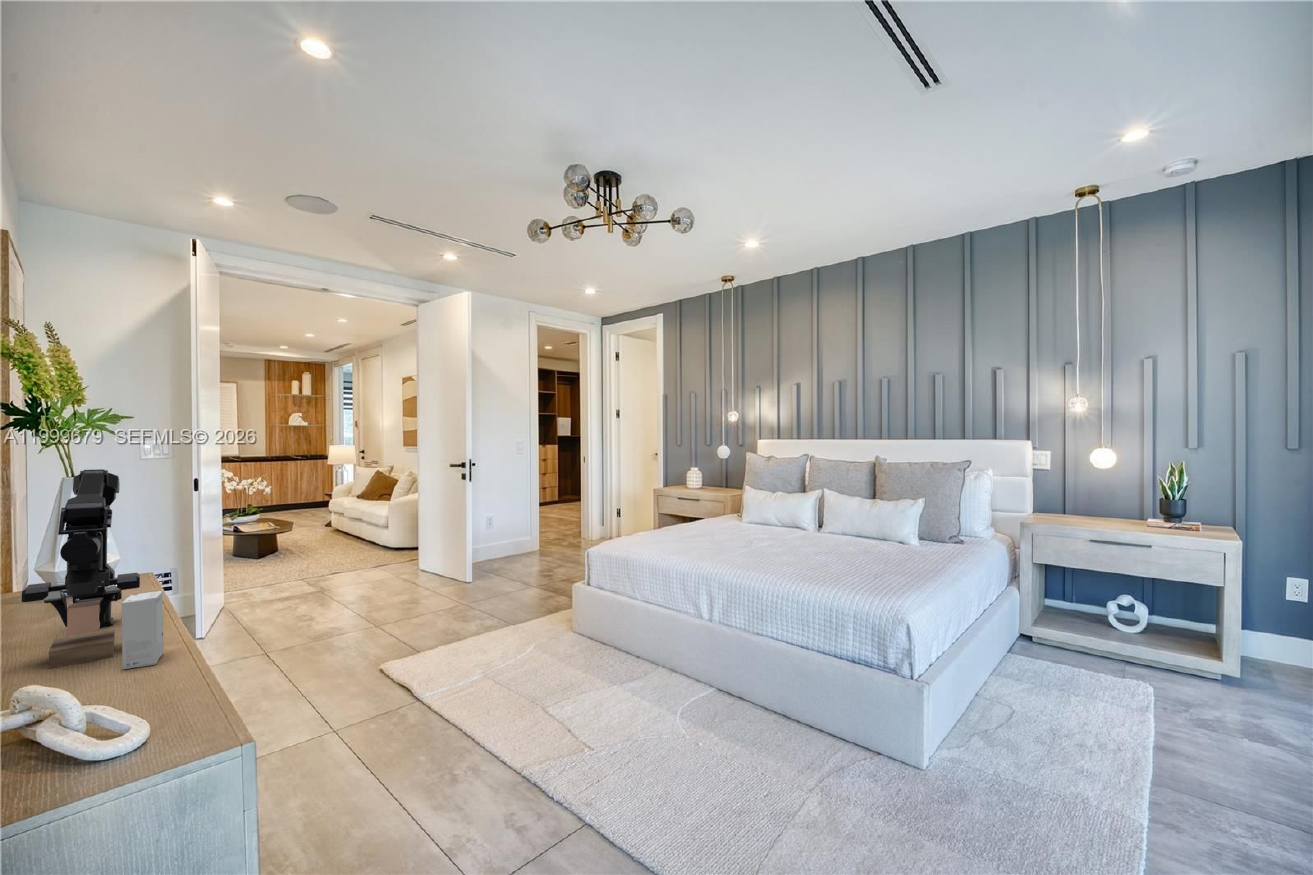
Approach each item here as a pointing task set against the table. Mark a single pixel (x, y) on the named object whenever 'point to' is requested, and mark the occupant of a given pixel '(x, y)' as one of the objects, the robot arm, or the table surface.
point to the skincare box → (142, 629)
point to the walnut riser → (81, 648)
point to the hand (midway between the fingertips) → (83, 624)
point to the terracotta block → (83, 617)
